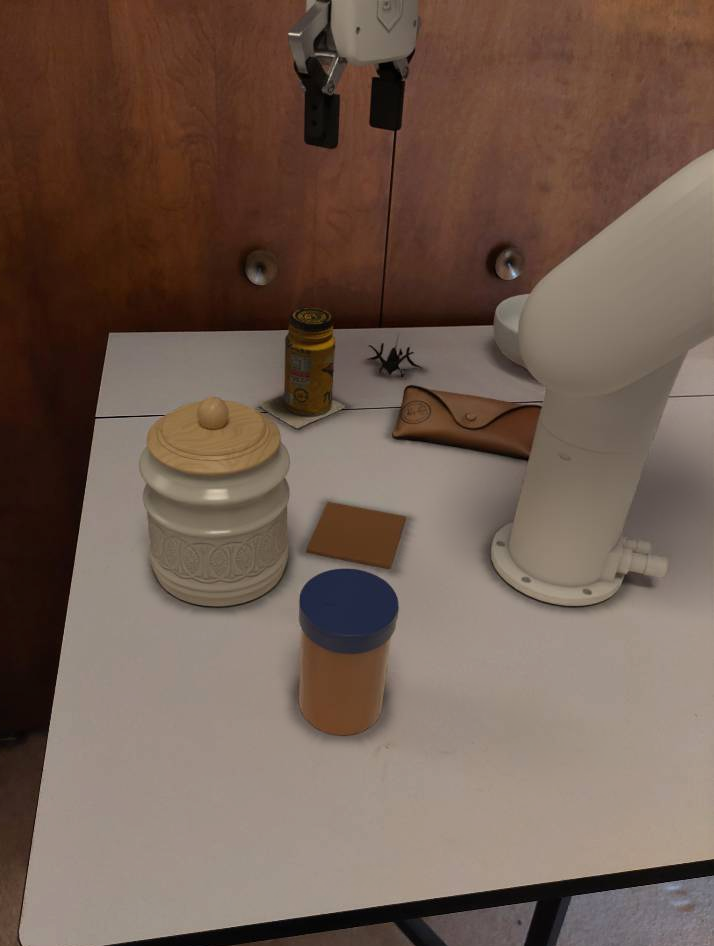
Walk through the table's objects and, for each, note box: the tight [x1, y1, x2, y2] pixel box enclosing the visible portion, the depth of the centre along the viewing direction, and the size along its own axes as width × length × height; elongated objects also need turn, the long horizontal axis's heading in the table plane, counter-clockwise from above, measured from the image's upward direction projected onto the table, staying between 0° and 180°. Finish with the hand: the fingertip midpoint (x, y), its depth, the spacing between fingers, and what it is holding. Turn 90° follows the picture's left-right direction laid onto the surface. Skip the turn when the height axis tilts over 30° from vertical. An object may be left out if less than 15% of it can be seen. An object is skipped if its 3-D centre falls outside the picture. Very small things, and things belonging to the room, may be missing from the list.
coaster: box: [305, 501, 407, 570], centre depth 81 cm, size 8×8×1 cm
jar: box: [138, 396, 291, 607], centre depth 71 cm, size 13×13×18 cm
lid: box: [298, 567, 400, 654], centre depth 57 cm, size 7×7×2 cm
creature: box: [366, 333, 424, 378], centre depth 108 cm, size 8×5×8 cm
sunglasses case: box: [391, 384, 542, 459], centre depth 96 cm, size 18×7×7 cm
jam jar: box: [298, 629, 392, 736], centre depth 60 cm, size 7×7×10 cm
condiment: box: [257, 307, 346, 429], centre depth 97 cm, size 7×8×12 cm
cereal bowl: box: [493, 293, 530, 370], centre depth 110 cm, size 17×17×7 cm
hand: (354, 137), depth 70 cm, fingers open, 9 cm apart
